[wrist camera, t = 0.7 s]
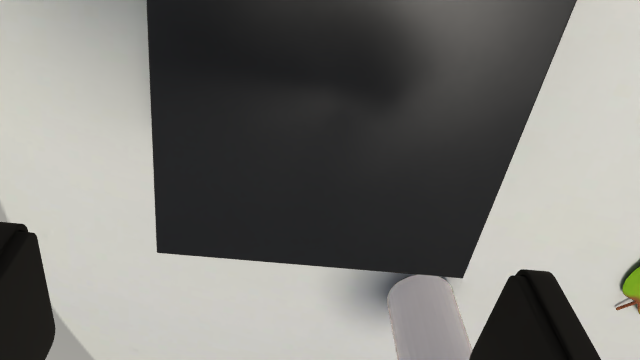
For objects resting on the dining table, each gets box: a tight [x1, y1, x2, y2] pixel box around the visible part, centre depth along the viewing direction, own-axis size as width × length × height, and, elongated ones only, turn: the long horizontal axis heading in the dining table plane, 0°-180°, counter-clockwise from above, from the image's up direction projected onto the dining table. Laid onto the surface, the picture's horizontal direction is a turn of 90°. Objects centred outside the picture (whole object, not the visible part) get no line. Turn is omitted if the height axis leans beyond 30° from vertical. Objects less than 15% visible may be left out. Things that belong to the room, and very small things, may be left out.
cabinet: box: [147, 0, 577, 278], centre depth 21 cm, size 15×13×10 cm
